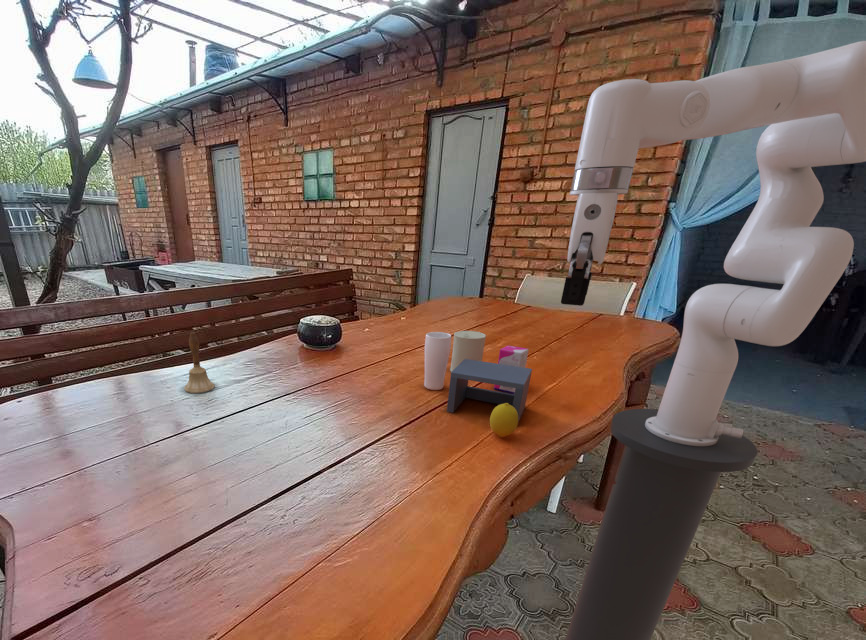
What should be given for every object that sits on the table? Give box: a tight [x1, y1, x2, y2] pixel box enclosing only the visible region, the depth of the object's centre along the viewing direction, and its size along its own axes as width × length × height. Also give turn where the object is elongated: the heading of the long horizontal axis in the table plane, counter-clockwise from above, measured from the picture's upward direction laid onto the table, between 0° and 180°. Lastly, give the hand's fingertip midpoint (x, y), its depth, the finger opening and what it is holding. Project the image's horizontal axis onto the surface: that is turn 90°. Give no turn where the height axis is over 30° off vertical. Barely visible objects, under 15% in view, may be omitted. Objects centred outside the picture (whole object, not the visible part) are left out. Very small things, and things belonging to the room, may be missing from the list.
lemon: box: [489, 403, 519, 438], centre depth 90 cm, size 6×6×8 cm
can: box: [449, 330, 487, 373], centre depth 128 cm, size 9×9×12 cm
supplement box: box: [493, 345, 529, 394], centre depth 114 cm, size 6×6×12 cm
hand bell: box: [183, 331, 216, 394], centre depth 117 cm, size 8×8×16 cm
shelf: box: [446, 359, 533, 423], centre depth 102 cm, size 16×12×10 cm
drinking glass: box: [423, 331, 452, 391], centre depth 115 cm, size 7×7×15 cm
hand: (573, 299), depth 70 cm, fingers open, 9 cm apart
